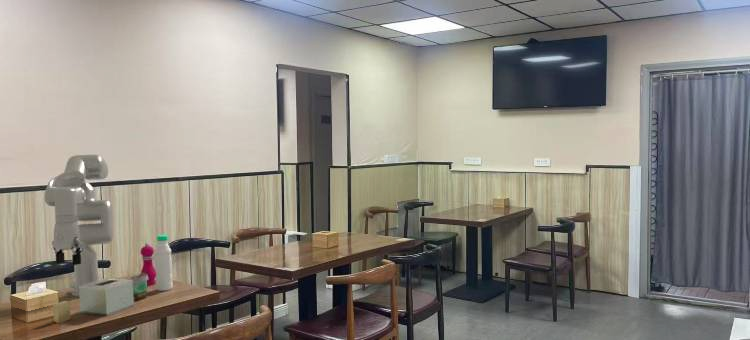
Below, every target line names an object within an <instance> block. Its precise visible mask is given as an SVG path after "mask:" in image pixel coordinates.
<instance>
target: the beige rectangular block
mask: <svg viewBox="0 0 750 340" xmlns="http://www.w3.org/2000/svg"><path fill="white" fill-rule="evenodd" d="M52 306H53V322H56V323H57V324H60V323H64V322H67V321H70V320H71V309H70V307H71V306H70V301H69V300H64V301H63V300H62V301H59V302H56V303H53V305H52ZM56 323H55V324H56Z"/></svg>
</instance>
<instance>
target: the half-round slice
mask: <svg viewBox="0 0 750 340" xmlns="http://www.w3.org/2000/svg"><path fill="white" fill-rule="evenodd" d="M140 274H141V275H137V276H133V277H131V278H127V279H128V280H133V298H134V302H140V301H143V300H145V299H147V289H148V288H147V287H148V286H147V280H148V279H149V278H148V275H147V274H146V273H141V272H140Z"/></svg>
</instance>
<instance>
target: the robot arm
mask: <svg viewBox="0 0 750 340" xmlns="http://www.w3.org/2000/svg"><path fill="white" fill-rule="evenodd" d="M108 175H109V166H108V164H107V161H106V160H105V159H104V158H103V156H101V155H99V154H77V155H76V154H74V155H72V156H71V157H69V158H68V159H67V163H66V165H65V169H64V172H62V173H60V174H59V175H57V176H55V177H54V178H51V179H50V181H48V183H47V185H46V188H45V191H44V192H45V193H44V202H45V204H46V205H47V206H50V207H54V214H55V215H54V218H55V224H54V227H53V241H51V245H52V249H53V250H54V254H55V264H56V265H58V264H64V263H65V262H66V261H65V259H66V258H65V252H64V251H70V250H71V252H72V254H71V256H72V259H71V260H72V261H71V262H72V265H73V266H74V267H73V268H74V270H73V271H74V283H72V285H70V288H71V289H73V291H72V292H71V296H72V297H77V298H80V295H79V286H80V285H83V284H87V283H90V282H94V281H97V280H99V265H98V254H97V251H96V250H95V249H94V248H93V247H92V246H94V245H95V246H96V245H106V244H110V243H111V242H113V239H114V210H113V205H112V202H111V201H110V200H108V199H95V197H96V196H95V195H96V194H95V189H94V186H92V185H91V183H89V182H88V181H95V180H96V181H98V180H105V179H106V178H107V177H108ZM96 221H100V223H99V222H97V223H82V224H79V223H78V222H96Z"/></svg>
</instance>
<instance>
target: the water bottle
mask: <svg viewBox="0 0 750 340" xmlns="http://www.w3.org/2000/svg"><path fill="white" fill-rule="evenodd" d="M168 236H169V235H166V234H162V235H157V237H156V241H157V246H156V248H155V250H154V254H155V256H154V257H155V259H154V262H155V271H156V277H155V280H156V283H155V285H156V290H157V291H159V292H167V291H170V290H172V289H173V287H174V285H173V272H172V270H173V264H172V263H173V261H172V249H171V248H170V247H171V246H170V245H169V244H168V240H169V237H168Z"/></svg>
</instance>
